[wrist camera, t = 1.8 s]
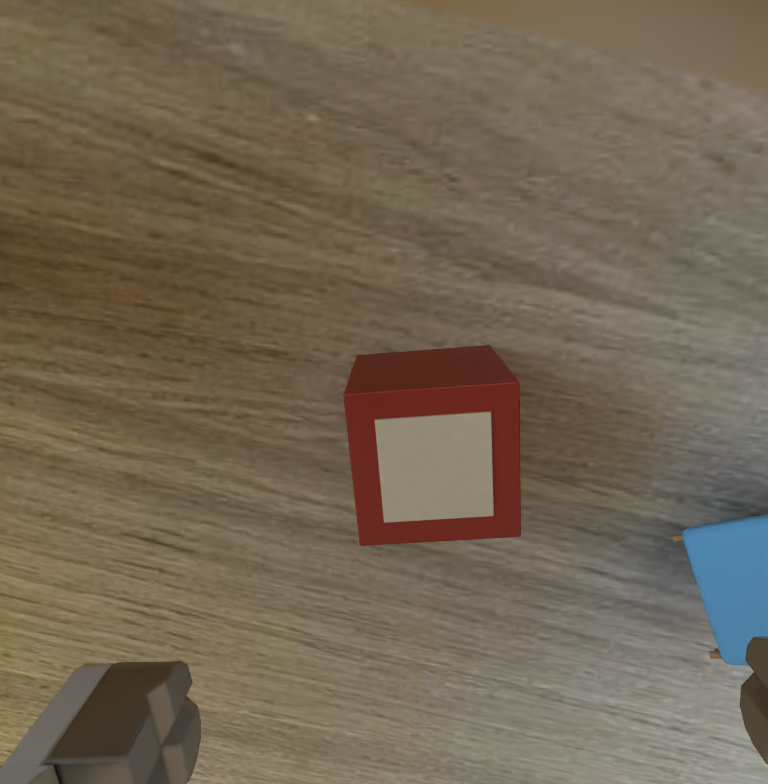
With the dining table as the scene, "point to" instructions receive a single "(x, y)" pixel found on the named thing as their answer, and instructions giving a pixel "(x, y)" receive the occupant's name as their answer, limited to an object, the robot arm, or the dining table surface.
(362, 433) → the red letter block
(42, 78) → the dining table surface
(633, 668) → the dining table surface
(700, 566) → the building blocks
